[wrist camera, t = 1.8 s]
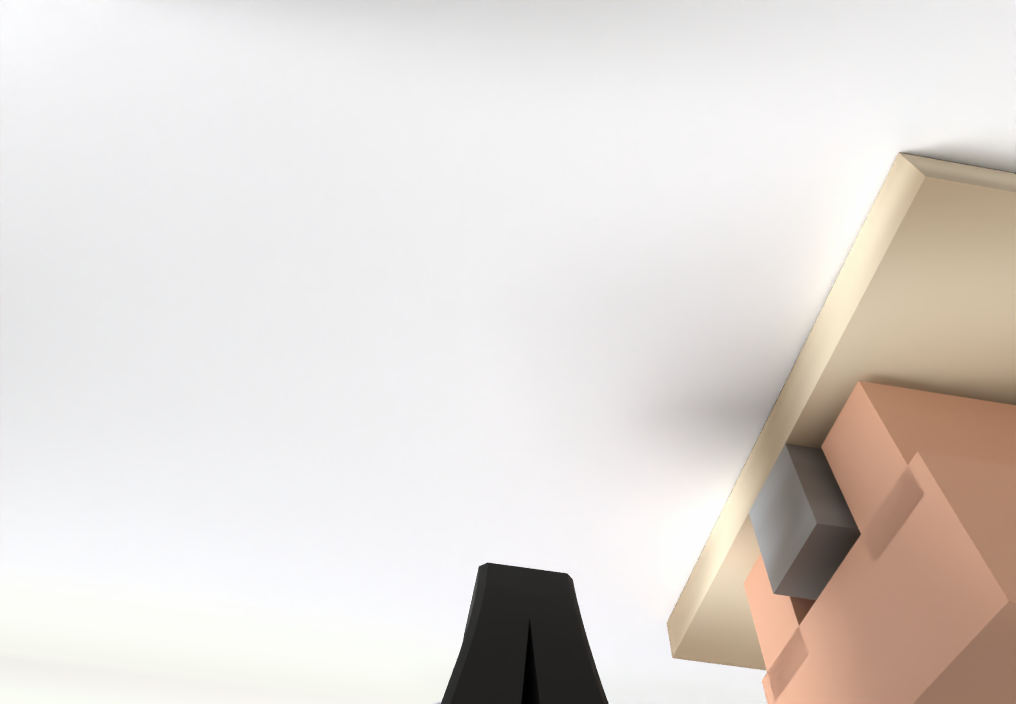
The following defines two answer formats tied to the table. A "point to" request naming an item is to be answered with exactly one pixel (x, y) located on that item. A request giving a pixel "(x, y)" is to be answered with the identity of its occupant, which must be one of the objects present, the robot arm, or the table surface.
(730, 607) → the rail board
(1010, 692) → the block
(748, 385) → the table surface
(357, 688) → the table surface
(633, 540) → the table surface
